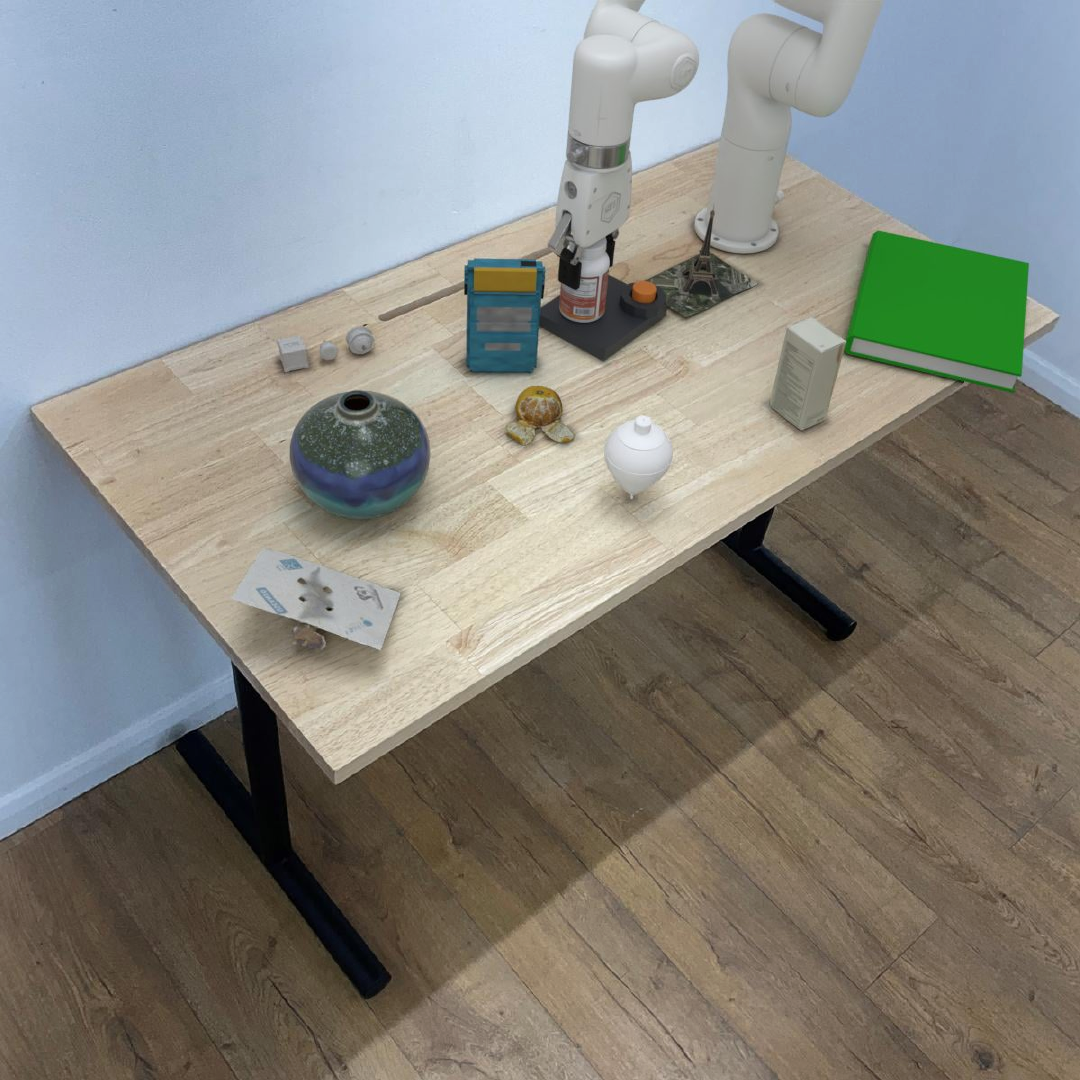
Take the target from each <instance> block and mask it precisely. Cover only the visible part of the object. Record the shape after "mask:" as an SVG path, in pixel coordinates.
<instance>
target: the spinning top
mask: <svg viewBox="0 0 1080 1080" xmlns="http://www.w3.org/2000/svg"><path fill="white" fill-rule="evenodd" d="M603 454H604V455H603V456H604V461H605V465H606V467H607V469H608V471H609V473H610V474H611V476H612V478H613V479H614V480H615V481H616V483H617V485H619V486H620V487H621V488H622V489H623V490H624V491H625V492H626V493H628V494H629V499H630V500H633V499H634V496H635V495H638V494H640V493H642V492H644V491H646V490H648V489H649V488H651V487H652V486H654V485H655V484H657V483H658V482H659V481H660V480H661V479H662V478H663V477H664V476H665V475H666V473H668V471H669V469H670V467H671V465H672V462H673V458H674V448H673V443H672V441H671V439H670V438H669V436H668V434H667V433H666V432H665V431H664V430H663V428H662V427H660V426H659V424H657V423H655V422H653V419H652V418H651V417H650V416H648V415H644V414H641V415H637V416H636V417H635V418H634V419H630V420H627V421H624V423H622V424H620V425H618V426H617V427H616V428H614V429H613V430H612V431H611V433H609V435H608V437H607V439H606V441H605V444H604V447H603Z"/></svg>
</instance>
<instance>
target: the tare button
mask: <svg viewBox="0 0 1080 1080" xmlns="http://www.w3.org/2000/svg"><path fill="white" fill-rule="evenodd" d="M635 282H636V283H635ZM635 282H634V283H635V284H634V285H633V289H632V299H633V300H635V301H637V302H640V303H651V302H653V301H654V300H655V296H656V290H657V288H656V286H655V285H654V284H653V283H651V282H648V281H645V280H639V281H635Z"/></svg>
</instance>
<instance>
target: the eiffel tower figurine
mask: <svg viewBox="0 0 1080 1080" xmlns="http://www.w3.org/2000/svg"><path fill="white" fill-rule="evenodd" d="M713 209H714V206H713ZM714 216H715V211H714V210H712V211H711V212H710V219H709V223H708V227H707V231H706V235H705V239H704V241H703V243H702V245H701V249H700V250H698V254H696V255H694V256H691V257H690V258H688V259H686V260H684V261H681V262H679V263H677V264H675V265H673V266H671V267H669V268H667V269H665V270H663V271H661V272H659V273H657V274H655V275H653V276H651V277H649V278H647V279H645V280H644V281H648V282H651V283H653V284H654V285H656V286H658V287H660V288H662V289H663V291H664V292H665V293H666V295H667V296H666V302H665V304H667V305H668V306H667V307H669V308H670V309H672V310H674V311H676V312H677V313H679V314H680V315H682V316H684V317H685V318H687V317H691V316H694V315H696V314H698V313H701V312H703V311H705V310H707V309H709V308H711V307H713V306H714V305H716V304H718V303H720V302H723V300H725V299H727V298H729V297H732V296H733V295H735V294H738V293H740V292H743V291H746V290H748V289H751V288H753V287H755V286H758V285H759V283H758V282H756V281H754V280H753V279H751V278H750V277H748V276H747V275H745V274H744V273H742V272H741V271H739V270H737V269H736V268H735V267H733V266H732V265H730V264H729V263H727V262H726V261H724V260H723V259H722V258H720V257H718V256H717V255H716V254H714V253H713V252H711V245H710V241H711V232H712V224H713V217H714Z"/></svg>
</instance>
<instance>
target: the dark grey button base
mask: <svg viewBox="0 0 1080 1080" xmlns="http://www.w3.org/2000/svg"><path fill="white" fill-rule="evenodd" d="M636 282H637V281H635V282H630V283H626V282H624V281H623V280H621V279H619V278H616V277H614V276H612V275H610V274H609V276H608V285H607V294H606V304H605V311H604V313H603V315H602V316H601V317H600V318H599V319H597V320H595V321H593V322H589V323H579V322H574V321H571V320H569V319H567V318H566V317H564V316H563V315H562V313H561V312H560V309H559V301H560V294H559V295H557V296H556V297H554V298H552V299H551V300H550V301H548V302H547V303H546V304H544V305H542V306H540V320H539V328H542V329H543V330H546V331H547V332H549V333H550V334H552V335H555V336H556V337H558V338H560V339H562V340H564V341H565V342H567V343H569V344H571V345H572V346H575V347H576V348H578V349H580V350H581V351H583V352H585V353H587V354H588V355H591V356H592V357H594V358H596V359H598V360H600V361H602V362H605V361H607V360H608V359H610V358H611V357H613V356H614V355H615V354H616V353H617V352H619V351H620V350H622V349H623V348H625V347H626V346H627V345H628V344H630V343H632V342H633V341H634V340H635V339H636V338H638V337H639V336H641V335H643V333H645V332H646V331H648V330H649V329H650V328H652V327H653V326H654V325H656V324H657V323H658V322H661V320H663V319H664V318H666V316H667V312H668V307H669V306H668V305H667V304H665V302H666V296H667V295H666V293H665V292H664V291H663V289H662V288H660V287H658V286H656V285H655V286H656V288H657V290H656V296H655V300H654V301H653V302H651V303H640V302H637V301H635V300H633V299H632V289H633V285H634V284H635V283H636Z"/></svg>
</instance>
